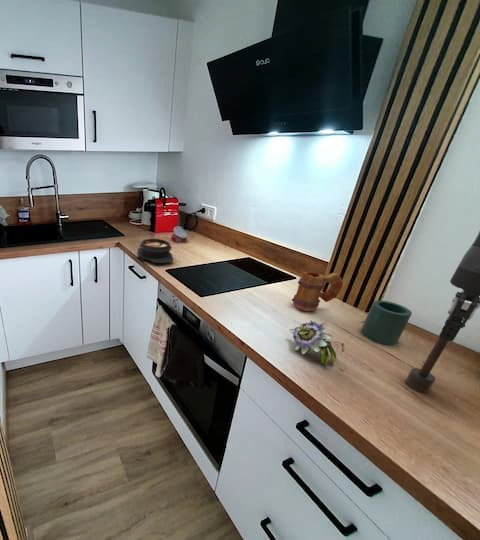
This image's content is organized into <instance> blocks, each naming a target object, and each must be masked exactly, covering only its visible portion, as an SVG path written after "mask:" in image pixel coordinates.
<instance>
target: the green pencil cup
mask: <svg viewBox="0 0 480 540" xmlns="http://www.w3.org/2000/svg"><path fill="white" fill-rule="evenodd" d="M412 313H413V311H411V310H410V309H409V308H407V307H405V306H403V305H401V304H398V303H395V302H392V301H388V300H381V299H377V300H374V301H373V302H372V304H371V307H370V309H369V311H368V313H367V316H366V318H365V320H364V322H363V325H362V327H361V330H360V333H361V334H362V335H363V336H364V337H365V338H366V339H368V340H370V341H372V342H374V343H377V344H380V345H383V346H384V345H385V346H395V345H397V343H398V342H399V340H400V338H401V336H402V334H403V333H404V331H405V328H406V326H407V325H408V322H409V320H410V318H411V316H412Z"/></svg>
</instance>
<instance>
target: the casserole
mask: <svg viewBox="0 0 480 540" xmlns="http://www.w3.org/2000/svg"><path fill="white" fill-rule="evenodd" d="M171 250H172V246H171V243H170V242H169V241H167V240H165V239H160V238H147V239H143V240H142V241H141V242H140V244H139V247H138V248H137V256H138V257H140V258H142V259H144V260H147V261H150V262H152V263H155V264H166V263H171V262H173V261H174V258H173V254H172V253H171V252H170V251H171Z"/></svg>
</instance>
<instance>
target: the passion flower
mask: <svg viewBox="0 0 480 540" xmlns="http://www.w3.org/2000/svg"><path fill="white" fill-rule="evenodd" d="M327 326H328V324H327V322H321V323H317V321H315V320H314V321H313V320H310V321H309V322H305V323H304V322H303V323H300V325H299V326H296V327H294V328H291V329H289V332H290V333H291V334H293V336H292V338H293V339H294V340H293V342H292V344H293V345H296V346H295V347H294V348H293V351H296V352H298V351H300V350H301V354H302V355H307V354H308V353H309V352H310V350H311V349H312V351H314V352H315V353H320V362H321V364H322V365H323V366H327V364H328V362H329V361H330V357H331V365H334V363H335V362H336V360H337V353H336V351H335V349H334V348H333V345H332V341H331V340H332V339H333V338H334V335H333V334H330V333H327V332H324V330H325V329H326V328H327ZM334 343H336V344H340V345H341V347H342V348H341V352H343V353H344V352H345V350H346V349H345V343H344V342H339V341H338V342H337V341H334Z"/></svg>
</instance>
